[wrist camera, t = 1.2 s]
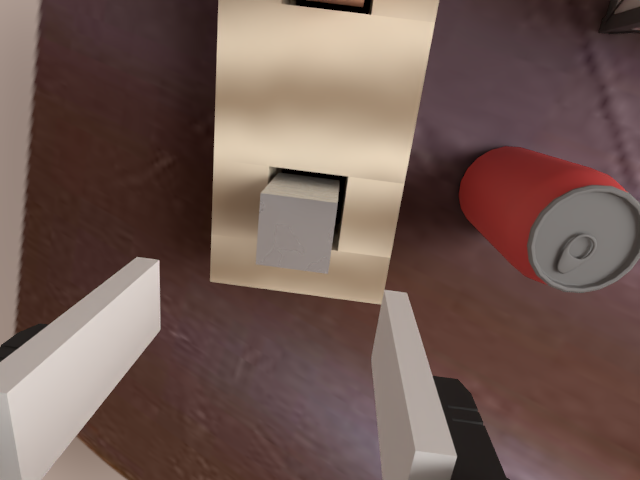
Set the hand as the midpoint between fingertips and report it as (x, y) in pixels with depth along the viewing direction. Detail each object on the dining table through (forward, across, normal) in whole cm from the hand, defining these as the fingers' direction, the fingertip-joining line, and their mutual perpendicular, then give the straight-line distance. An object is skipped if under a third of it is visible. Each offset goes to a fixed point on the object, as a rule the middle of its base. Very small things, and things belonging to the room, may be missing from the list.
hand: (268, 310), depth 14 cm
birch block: (+19, 0, +7) cm, 20 cm away
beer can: (+19, +14, +2) cm, 24 cm away
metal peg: (+14, 0, 0) cm, 14 cm away
